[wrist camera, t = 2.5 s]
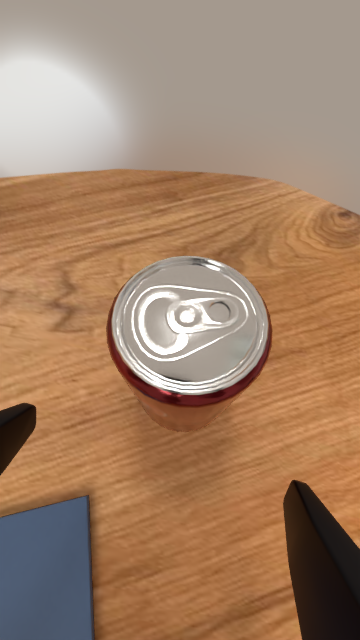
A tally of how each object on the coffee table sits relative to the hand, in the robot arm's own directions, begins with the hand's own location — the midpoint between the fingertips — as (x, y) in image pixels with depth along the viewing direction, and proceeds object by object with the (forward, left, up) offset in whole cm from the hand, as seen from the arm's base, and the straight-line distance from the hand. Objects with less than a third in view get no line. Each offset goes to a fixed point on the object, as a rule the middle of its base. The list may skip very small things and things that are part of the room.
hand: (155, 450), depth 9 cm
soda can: (+5, -2, -12) cm, 13 cm away
